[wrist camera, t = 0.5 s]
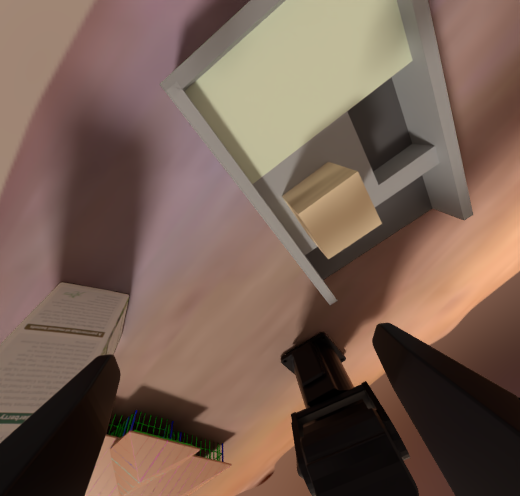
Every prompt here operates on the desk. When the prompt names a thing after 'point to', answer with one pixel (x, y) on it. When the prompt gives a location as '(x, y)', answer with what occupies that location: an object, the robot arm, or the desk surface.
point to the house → (151, 464)
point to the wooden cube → (333, 207)
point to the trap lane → (327, 112)
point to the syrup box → (56, 347)
